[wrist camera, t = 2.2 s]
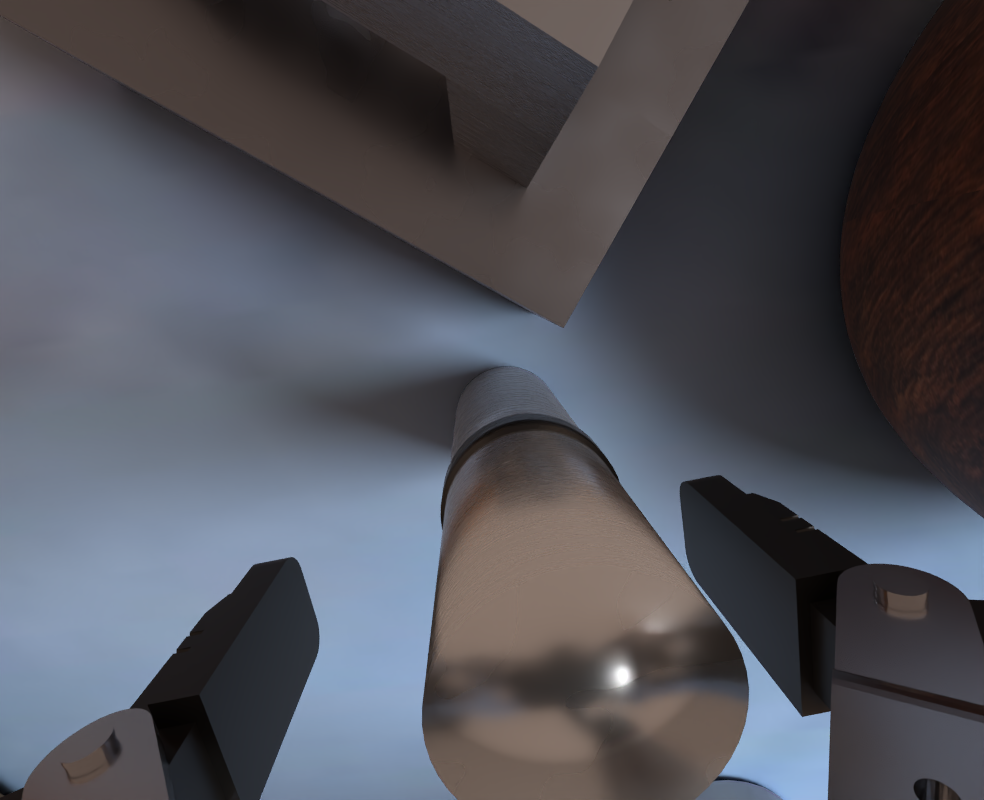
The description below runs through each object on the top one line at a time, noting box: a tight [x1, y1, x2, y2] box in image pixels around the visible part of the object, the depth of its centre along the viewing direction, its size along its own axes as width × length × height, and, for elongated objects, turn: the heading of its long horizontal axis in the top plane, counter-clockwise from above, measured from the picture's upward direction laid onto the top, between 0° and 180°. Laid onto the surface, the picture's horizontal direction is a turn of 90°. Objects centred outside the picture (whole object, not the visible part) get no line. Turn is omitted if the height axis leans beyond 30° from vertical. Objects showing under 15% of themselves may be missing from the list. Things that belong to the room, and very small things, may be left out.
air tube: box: [422, 367, 749, 800], centre depth 13 cm, size 4×4×14 cm
